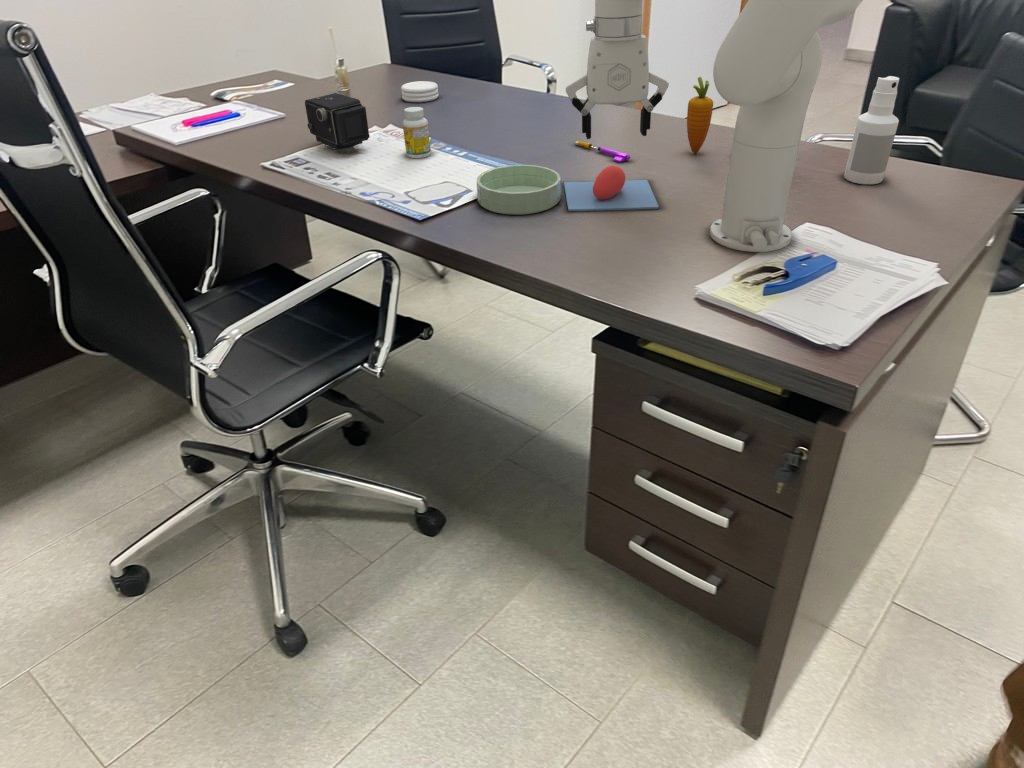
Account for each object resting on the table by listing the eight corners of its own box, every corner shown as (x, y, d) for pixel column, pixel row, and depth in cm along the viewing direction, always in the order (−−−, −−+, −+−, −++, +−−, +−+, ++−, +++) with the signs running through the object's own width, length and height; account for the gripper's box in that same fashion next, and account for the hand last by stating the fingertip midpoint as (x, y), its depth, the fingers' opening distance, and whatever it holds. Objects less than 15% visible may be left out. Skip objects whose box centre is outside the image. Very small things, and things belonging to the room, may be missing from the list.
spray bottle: (859, 187, 132) (885, 84, 122) (836, 175, 138) (859, 75, 127) (890, 182, 134) (919, 80, 123) (866, 171, 139) (892, 72, 129)
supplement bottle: (433, 156, 155) (428, 110, 149) (408, 159, 154) (403, 113, 148) (428, 149, 159) (423, 104, 154) (404, 152, 158) (399, 107, 152)
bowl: (562, 214, 126) (562, 192, 124) (476, 216, 127) (474, 194, 124) (558, 184, 139) (558, 163, 136) (479, 186, 139) (478, 165, 137)
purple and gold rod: (631, 159, 149) (578, 143, 159) (630, 153, 148) (577, 138, 158) (622, 165, 148) (569, 148, 158) (621, 159, 147) (568, 143, 157)
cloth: (658, 208, 127) (659, 206, 127) (568, 211, 127) (568, 209, 127) (646, 181, 138) (647, 179, 138) (563, 184, 139) (563, 182, 138)
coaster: (445, 96, 199) (444, 82, 197) (423, 104, 192) (422, 90, 190) (417, 92, 203) (416, 79, 201) (394, 100, 196) (393, 87, 194)
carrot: (707, 157, 149) (716, 81, 140) (682, 157, 150) (690, 80, 141) (706, 150, 153) (716, 75, 144) (683, 149, 154) (690, 75, 145)
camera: (307, 152, 164) (341, 160, 154) (294, 100, 158) (328, 104, 148) (346, 142, 169) (382, 148, 159) (335, 90, 164) (371, 94, 154)
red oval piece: (635, 198, 134) (631, 164, 133) (615, 195, 126) (611, 159, 126) (610, 203, 137) (606, 170, 136) (589, 201, 129) (584, 165, 129)
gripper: (566, 34, 114) (567, 144, 123) (676, 27, 113) (669, 138, 122) (563, 27, 120) (565, 132, 129) (667, 21, 119) (661, 127, 129)
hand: (615, 135), depth 126 cm, fingers open, 9 cm apart
